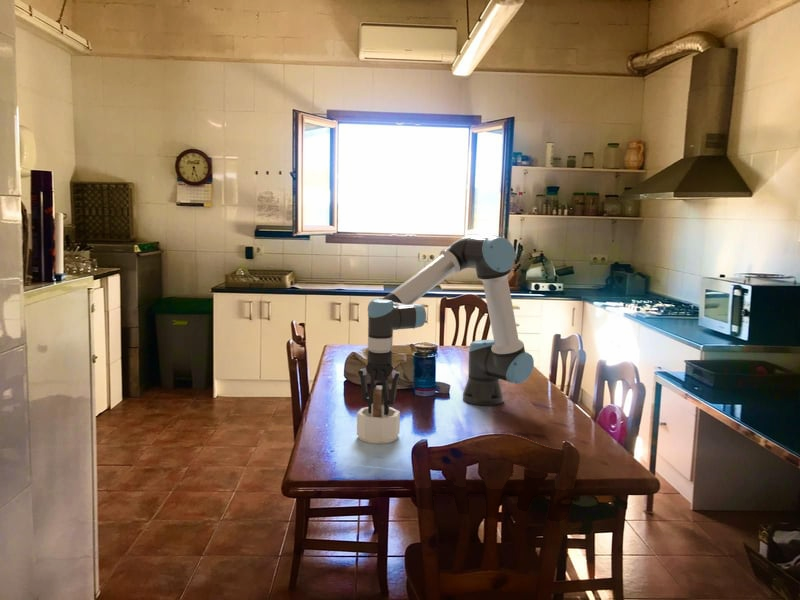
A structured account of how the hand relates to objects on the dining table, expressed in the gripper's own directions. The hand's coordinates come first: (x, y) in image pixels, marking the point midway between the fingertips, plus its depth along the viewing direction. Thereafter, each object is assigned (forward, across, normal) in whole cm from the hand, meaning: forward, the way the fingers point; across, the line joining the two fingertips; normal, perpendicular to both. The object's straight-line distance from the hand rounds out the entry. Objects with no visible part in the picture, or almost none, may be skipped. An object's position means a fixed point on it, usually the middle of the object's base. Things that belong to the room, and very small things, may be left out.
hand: (378, 423), depth 203 cm
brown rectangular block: (0, 0, 0) cm, 0 cm away
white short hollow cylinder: (+4, 0, 0) cm, 4 cm away
